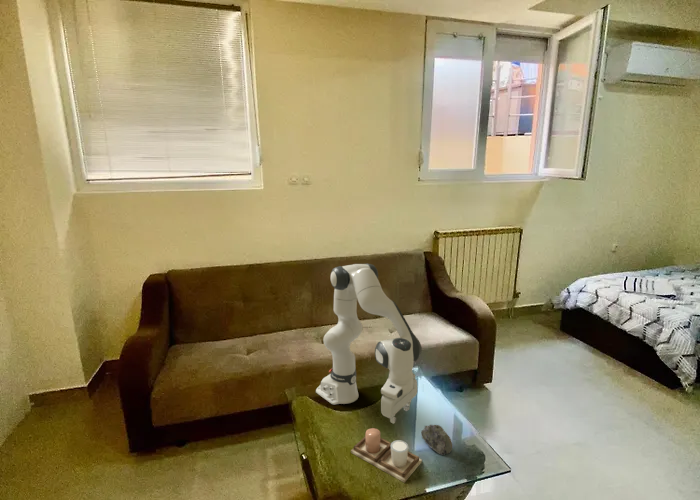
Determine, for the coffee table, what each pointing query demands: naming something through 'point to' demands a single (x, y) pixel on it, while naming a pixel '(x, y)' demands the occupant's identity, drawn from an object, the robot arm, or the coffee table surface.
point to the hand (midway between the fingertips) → (399, 415)
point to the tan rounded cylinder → (373, 440)
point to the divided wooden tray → (387, 459)
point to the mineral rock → (437, 439)
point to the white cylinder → (399, 453)
